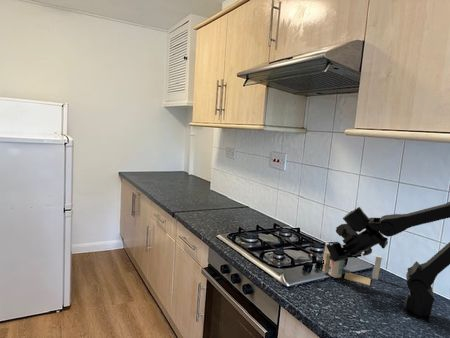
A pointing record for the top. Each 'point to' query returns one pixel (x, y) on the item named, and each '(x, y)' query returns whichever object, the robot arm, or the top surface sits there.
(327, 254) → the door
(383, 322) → the top surface
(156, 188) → the top surface
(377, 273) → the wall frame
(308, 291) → the top surface
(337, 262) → the beer can
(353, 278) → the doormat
